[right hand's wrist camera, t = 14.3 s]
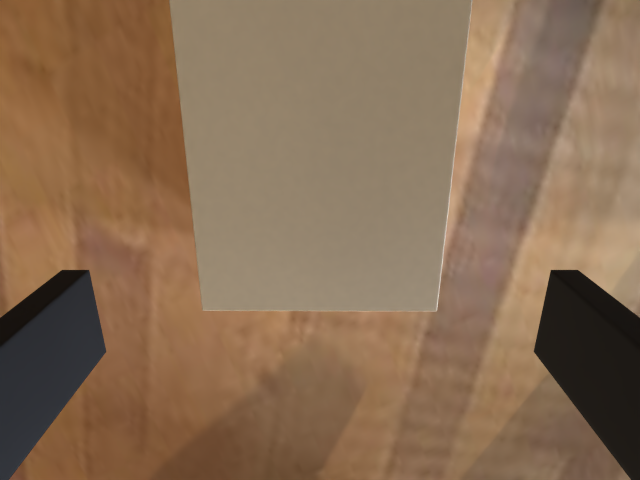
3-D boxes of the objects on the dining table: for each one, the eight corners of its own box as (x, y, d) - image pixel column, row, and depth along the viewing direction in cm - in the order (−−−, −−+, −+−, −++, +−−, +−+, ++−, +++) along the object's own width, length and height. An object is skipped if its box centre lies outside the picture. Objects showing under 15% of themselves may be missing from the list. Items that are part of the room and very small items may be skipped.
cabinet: (214, -94, 23) (147, -197, 14) (427, -93, 23) (495, -196, 14) (237, 239, 29) (201, 311, 21) (402, 240, 29) (437, 311, 21)
